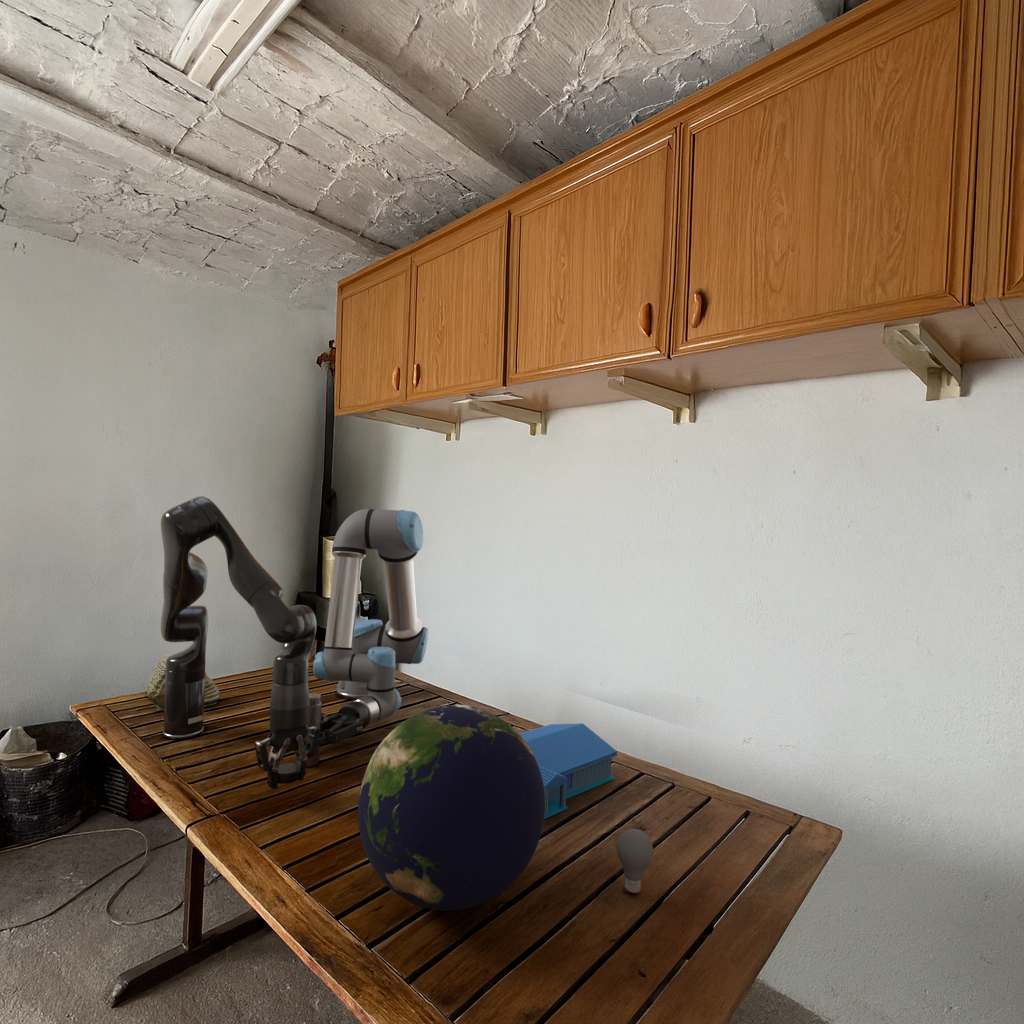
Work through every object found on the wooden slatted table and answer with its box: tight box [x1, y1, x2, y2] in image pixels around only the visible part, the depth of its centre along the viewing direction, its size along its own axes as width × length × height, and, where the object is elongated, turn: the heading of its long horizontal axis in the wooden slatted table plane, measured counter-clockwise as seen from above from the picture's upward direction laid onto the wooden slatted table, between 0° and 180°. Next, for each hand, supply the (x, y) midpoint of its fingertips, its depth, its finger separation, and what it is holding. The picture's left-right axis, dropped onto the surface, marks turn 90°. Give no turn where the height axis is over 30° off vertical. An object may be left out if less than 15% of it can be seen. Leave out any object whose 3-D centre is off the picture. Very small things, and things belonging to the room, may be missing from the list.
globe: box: [357, 704, 545, 912], centre depth 102 cm, size 30×30×30 cm
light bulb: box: [615, 828, 654, 894], centre depth 106 cm, size 6×6×10 cm
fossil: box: [146, 654, 221, 712], centre depth 185 cm, size 9×18×15 cm, turn 132°
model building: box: [519, 722, 618, 820], centre depth 142 cm, size 39×24×10 cm, turn 132°
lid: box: [277, 762, 301, 785], centre depth 132 cm, size 6×6×2 cm
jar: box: [305, 692, 323, 768], centre depth 150 cm, size 4×4×16 cm
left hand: (286, 783), depth 132 cm, fingers closed on lid, 5 cm apart
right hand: (293, 744), depth 145 cm, fingers closed on jar, 4 cm apart
